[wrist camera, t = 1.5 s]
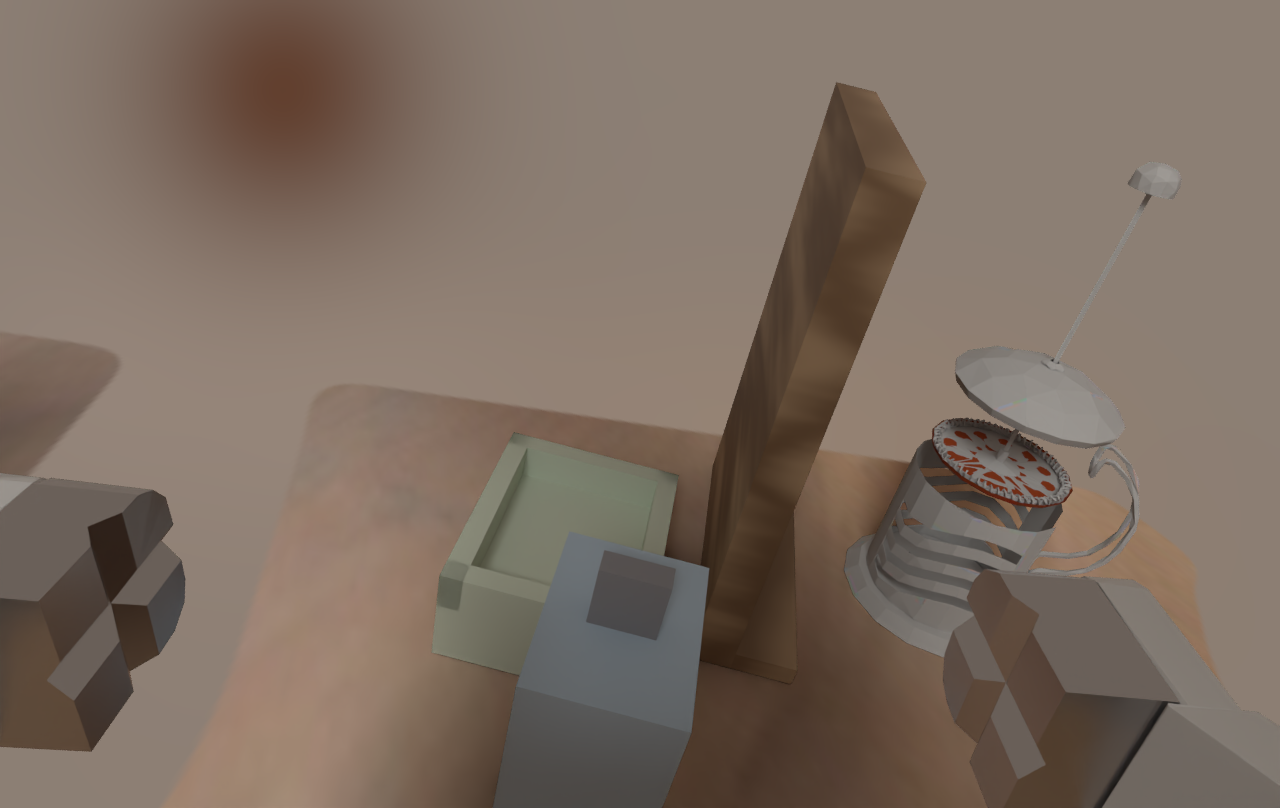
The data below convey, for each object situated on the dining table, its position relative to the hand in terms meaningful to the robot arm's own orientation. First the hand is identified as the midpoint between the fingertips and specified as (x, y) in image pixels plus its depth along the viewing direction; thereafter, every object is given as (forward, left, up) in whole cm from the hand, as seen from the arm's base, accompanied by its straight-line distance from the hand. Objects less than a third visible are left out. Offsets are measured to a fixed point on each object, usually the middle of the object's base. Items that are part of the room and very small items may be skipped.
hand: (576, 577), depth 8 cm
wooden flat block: (+8, +29, -24) cm, 38 cm away
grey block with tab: (+1, +10, -24) cm, 26 cm away
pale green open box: (-2, +23, -24) cm, 33 cm away
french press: (+19, +30, -24) cm, 43 cm away
